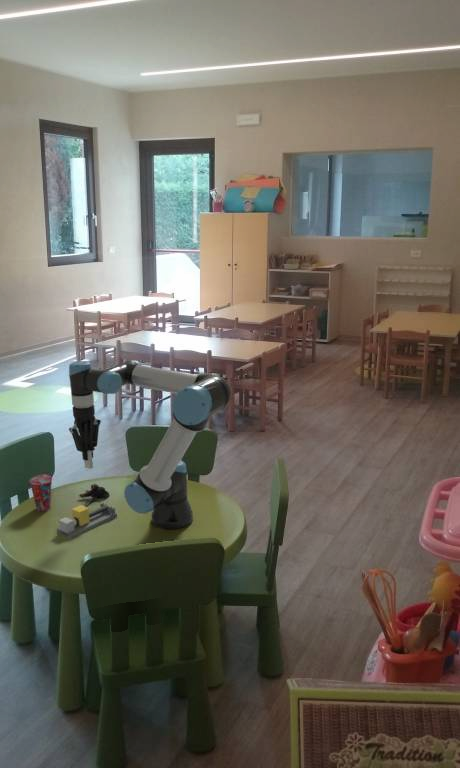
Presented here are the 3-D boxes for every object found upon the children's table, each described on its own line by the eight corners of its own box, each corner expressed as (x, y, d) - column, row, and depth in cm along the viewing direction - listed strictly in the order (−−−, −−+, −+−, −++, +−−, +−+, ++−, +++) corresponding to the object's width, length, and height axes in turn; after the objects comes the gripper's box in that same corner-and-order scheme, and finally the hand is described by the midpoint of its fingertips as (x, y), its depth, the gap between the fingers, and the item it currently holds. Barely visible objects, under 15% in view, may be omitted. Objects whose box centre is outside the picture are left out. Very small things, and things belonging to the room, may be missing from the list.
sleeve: (82, 518, 252) (80, 504, 250) (89, 522, 249) (88, 508, 248) (73, 522, 249) (71, 508, 247) (80, 526, 246) (79, 512, 245)
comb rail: (103, 510, 262) (102, 498, 260) (117, 516, 256) (116, 504, 255) (57, 531, 246) (55, 518, 245) (70, 538, 241) (69, 525, 240)
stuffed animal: (107, 485, 281) (109, 479, 270) (109, 509, 278) (111, 504, 267) (77, 489, 278) (78, 483, 267) (80, 513, 275) (80, 508, 264)
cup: (58, 509, 263) (55, 480, 260) (36, 515, 259) (33, 485, 255) (49, 500, 271) (46, 472, 268) (28, 506, 266) (25, 477, 263)
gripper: (90, 398, 250) (95, 459, 257) (61, 408, 240) (67, 471, 247) (104, 402, 246) (109, 463, 252) (75, 411, 236) (81, 475, 242)
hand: (88, 467), depth 249 cm, fingers closed
